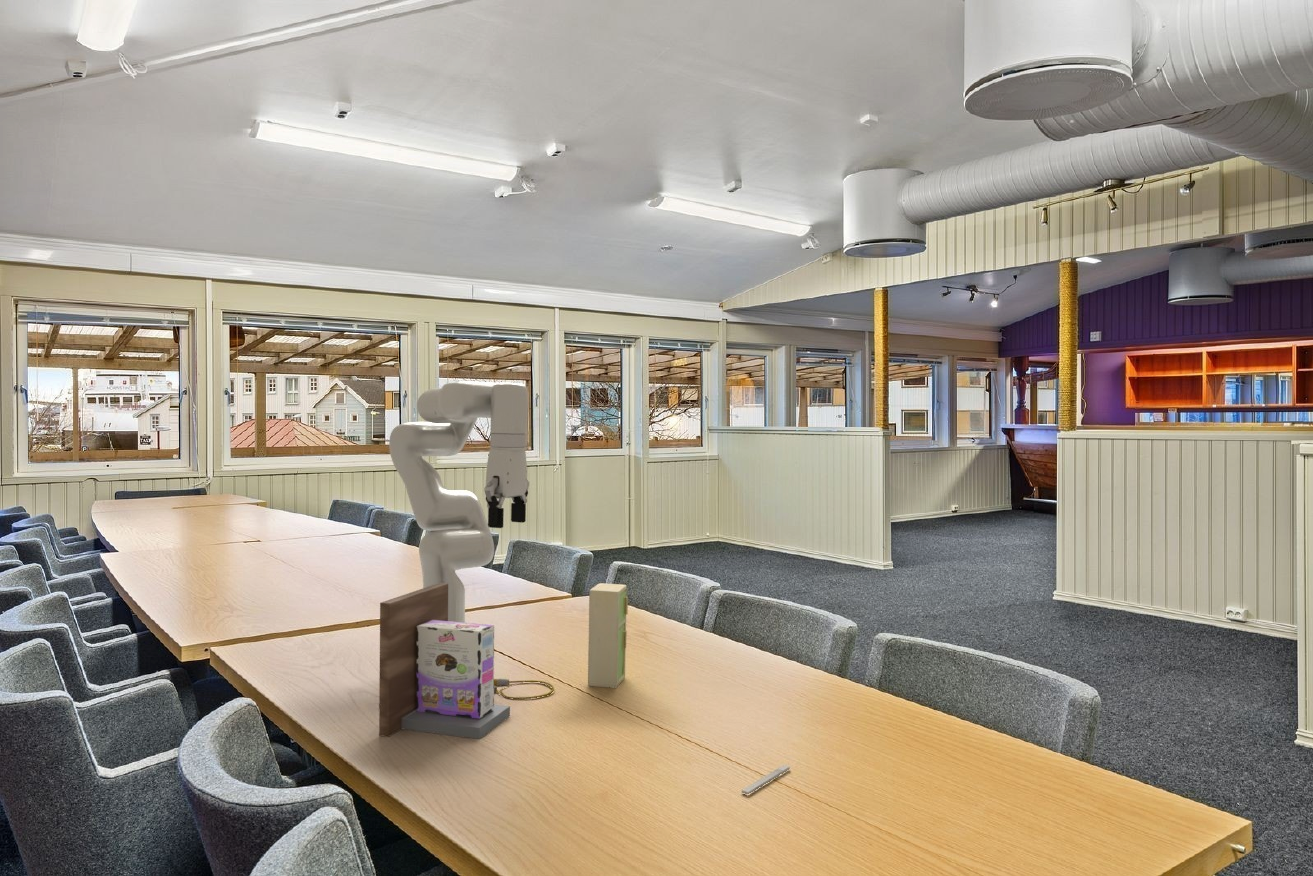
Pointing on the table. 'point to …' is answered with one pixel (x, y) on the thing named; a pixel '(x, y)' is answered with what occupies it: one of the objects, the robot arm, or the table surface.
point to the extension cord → (506, 681)
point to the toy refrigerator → (607, 634)
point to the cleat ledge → (456, 723)
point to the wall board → (404, 651)
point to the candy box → (455, 668)
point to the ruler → (765, 779)
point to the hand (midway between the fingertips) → (507, 524)
